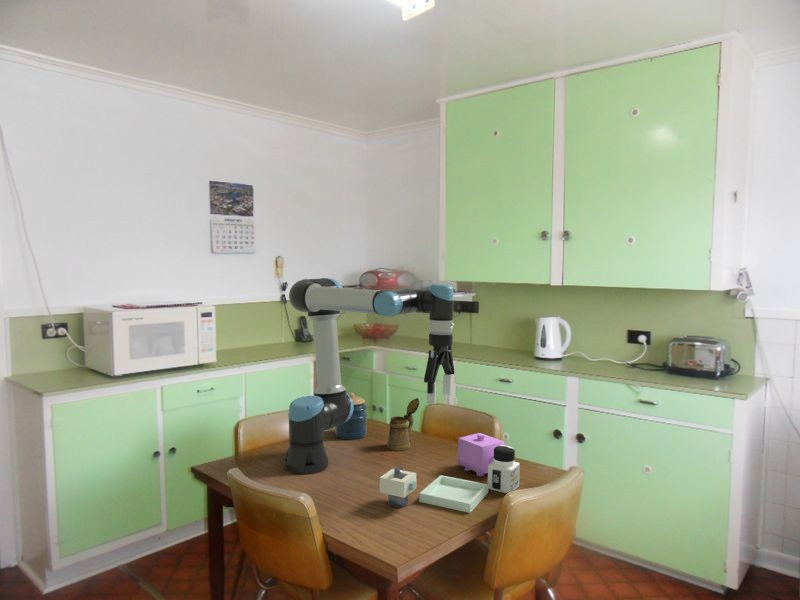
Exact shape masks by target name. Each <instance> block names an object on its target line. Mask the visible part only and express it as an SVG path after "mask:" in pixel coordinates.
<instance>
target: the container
mask: <svg viewBox="0 0 800 600" xmlns="http://www.w3.org/2000/svg"><path fill="white" fill-rule="evenodd" d="M515 458H516V450H515V449H514V447H512V446H509V445H505V444H504V445H501V446H497V447H495V448H494V461H493V462H492V463H491V464H489V465H488V473H487V484H488V490H491V491H496V492H499V493H504V494H507V492H509V491H512V490H514V491H515V490H517V489H518V487H519V486H520V473H521V472H520V468H521V467H520V465H521V464H520V463H521V462H517V461H515V460H516V459H515Z"/></svg>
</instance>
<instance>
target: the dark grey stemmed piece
mask: <svg viewBox="0 0 800 600" xmlns="http://www.w3.org/2000/svg"><path fill="white" fill-rule="evenodd" d="M393 469H394V472H395V478H398V479H402V470H403V466H402V465H398V466H397V467H395V468H393ZM387 504H388V506H390V507H391V508H395V509H398V508H399V509H401V508H405V507H407V506H408V505H409V494H408V495H407V496H406V497H405V498H403V497H398V496H393V495H389V494H387Z"/></svg>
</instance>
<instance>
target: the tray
mask: <svg viewBox="0 0 800 600" xmlns="http://www.w3.org/2000/svg"><path fill="white" fill-rule="evenodd" d="M488 494H489V489H488V483H484V482H483V483H482V482H478V481H472V480H466V479H462V478H458V477H452V476H446V475H442V474H441V475H440V474H439V476H438V477H437V478H435V479H434V480H433V481H432V482H431V483H429V484H428V485H427V486H426V487H425V488H423V489H422V490H421V491H420V492H419V493H418V495H419V497H418V498H419V500H418V501H419V503H422V504H423V503H424V504H428V505H433V506H436V507H437V506H438V507H442V508H447V509H451V510H455V511H460V512H465V513H469V514H470V513H472V511H473V510H474V509H475V508H476V507H477V506H478V505H479V504H480V503H481V502H482V500H483V499H484V498H485V497H486V496H487V495H488Z"/></svg>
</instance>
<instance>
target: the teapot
mask: <svg viewBox="0 0 800 600" xmlns="http://www.w3.org/2000/svg"><path fill="white" fill-rule="evenodd" d="M501 445H504V446H505V441H503V440H501V439H498V438H496V437H492V436H490V435H487V434H484V433H481V432H478V433H477V432H476V433H473V434H469V435H466V436H462V437H461V436H460V437H458V439H457V464H458V465H460V466H461V467H464V468H463V470H464V472H465V471H466V472H469V471H470V472H471V471H472V472H475V473H476V475H475V476H477V477H482V478H483V477H484V476H485V475H486V474H488V465H489V464H491V463H492V462H493V461H494V448H495V447H497V446H501Z"/></svg>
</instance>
